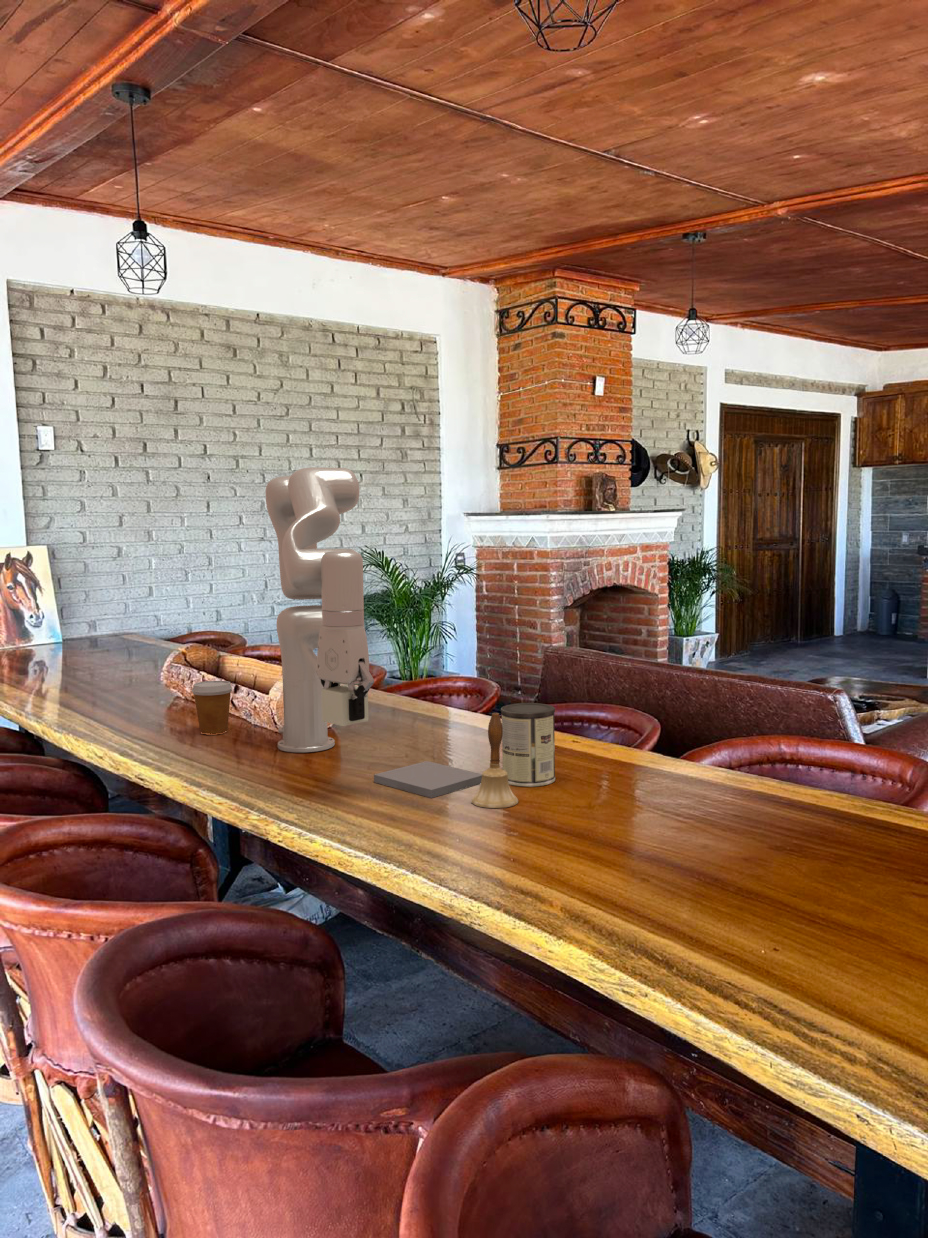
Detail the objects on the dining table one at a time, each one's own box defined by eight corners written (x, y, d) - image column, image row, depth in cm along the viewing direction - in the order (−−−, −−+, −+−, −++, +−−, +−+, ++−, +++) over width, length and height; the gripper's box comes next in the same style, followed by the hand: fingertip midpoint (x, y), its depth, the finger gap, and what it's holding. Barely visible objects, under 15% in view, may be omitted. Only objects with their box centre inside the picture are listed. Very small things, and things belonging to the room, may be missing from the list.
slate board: (374, 782, 181) (373, 774, 181) (427, 768, 191) (426, 761, 191) (431, 798, 170) (431, 790, 170) (484, 782, 180) (484, 774, 180)
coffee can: (513, 770, 188) (512, 701, 187) (562, 776, 184) (562, 704, 182) (493, 783, 179) (492, 710, 177) (544, 789, 174) (544, 714, 173)
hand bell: (494, 792, 173) (493, 707, 171) (528, 801, 167) (527, 713, 165) (461, 802, 167) (460, 713, 166) (495, 812, 161) (494, 720, 160)
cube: (322, 721, 173) (321, 689, 172) (347, 716, 177) (347, 684, 176) (342, 726, 169) (341, 693, 168) (368, 720, 173) (367, 688, 172)
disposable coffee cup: (242, 731, 228) (240, 682, 227) (212, 738, 220) (210, 688, 219) (215, 727, 233) (213, 679, 232) (185, 734, 225) (182, 685, 224)
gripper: (297, 617, 174) (300, 713, 176) (357, 625, 162) (359, 727, 164) (330, 614, 179) (332, 707, 181) (390, 621, 167) (391, 720, 169)
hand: (345, 716), depth 173 cm, fingers closed on cube, 6 cm apart
